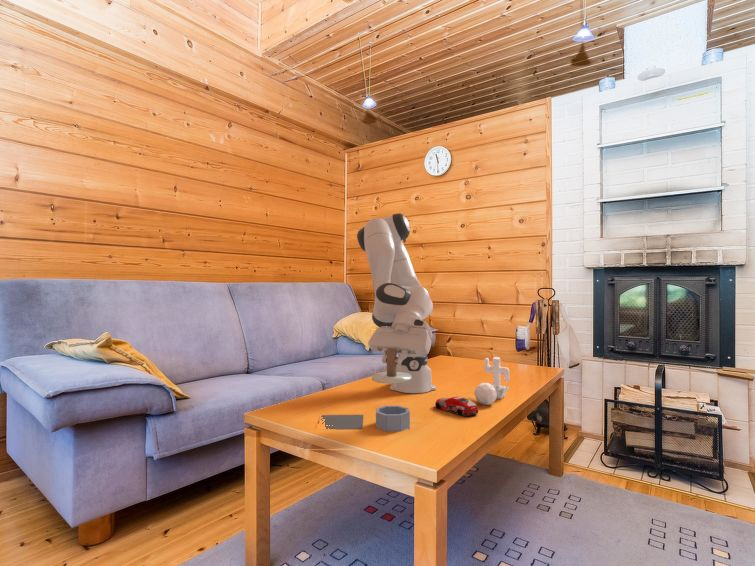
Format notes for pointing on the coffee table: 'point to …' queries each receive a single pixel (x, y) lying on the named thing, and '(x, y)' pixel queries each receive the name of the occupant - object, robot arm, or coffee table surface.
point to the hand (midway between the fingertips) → (390, 362)
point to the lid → (391, 371)
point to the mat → (343, 421)
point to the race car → (457, 406)
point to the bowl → (392, 418)
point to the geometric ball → (485, 393)
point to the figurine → (497, 375)
